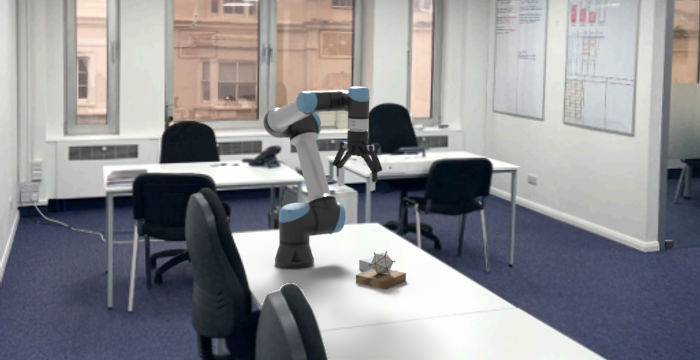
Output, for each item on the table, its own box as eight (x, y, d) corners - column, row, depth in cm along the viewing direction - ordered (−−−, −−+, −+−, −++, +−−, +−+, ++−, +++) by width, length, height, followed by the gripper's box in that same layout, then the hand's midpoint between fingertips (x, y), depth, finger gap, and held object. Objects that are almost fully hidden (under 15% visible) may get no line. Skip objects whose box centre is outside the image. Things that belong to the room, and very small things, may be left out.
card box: (359, 269, 309) (359, 259, 308) (376, 265, 315) (376, 255, 314) (369, 273, 305) (370, 262, 304) (387, 269, 311) (387, 258, 310)
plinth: (355, 283, 291) (355, 274, 290) (375, 274, 301) (375, 267, 301) (386, 289, 284) (386, 281, 283) (405, 281, 294) (405, 273, 294)
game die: (385, 285, 291) (393, 268, 284) (363, 276, 292) (371, 258, 285) (392, 267, 298) (399, 250, 291) (370, 258, 298) (377, 241, 291)
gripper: (323, 127, 296) (322, 185, 300) (381, 134, 282) (379, 194, 286) (335, 126, 302) (334, 182, 306) (393, 132, 288) (391, 190, 292)
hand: (356, 188), depth 296 cm, fingers open, 13 cm apart
